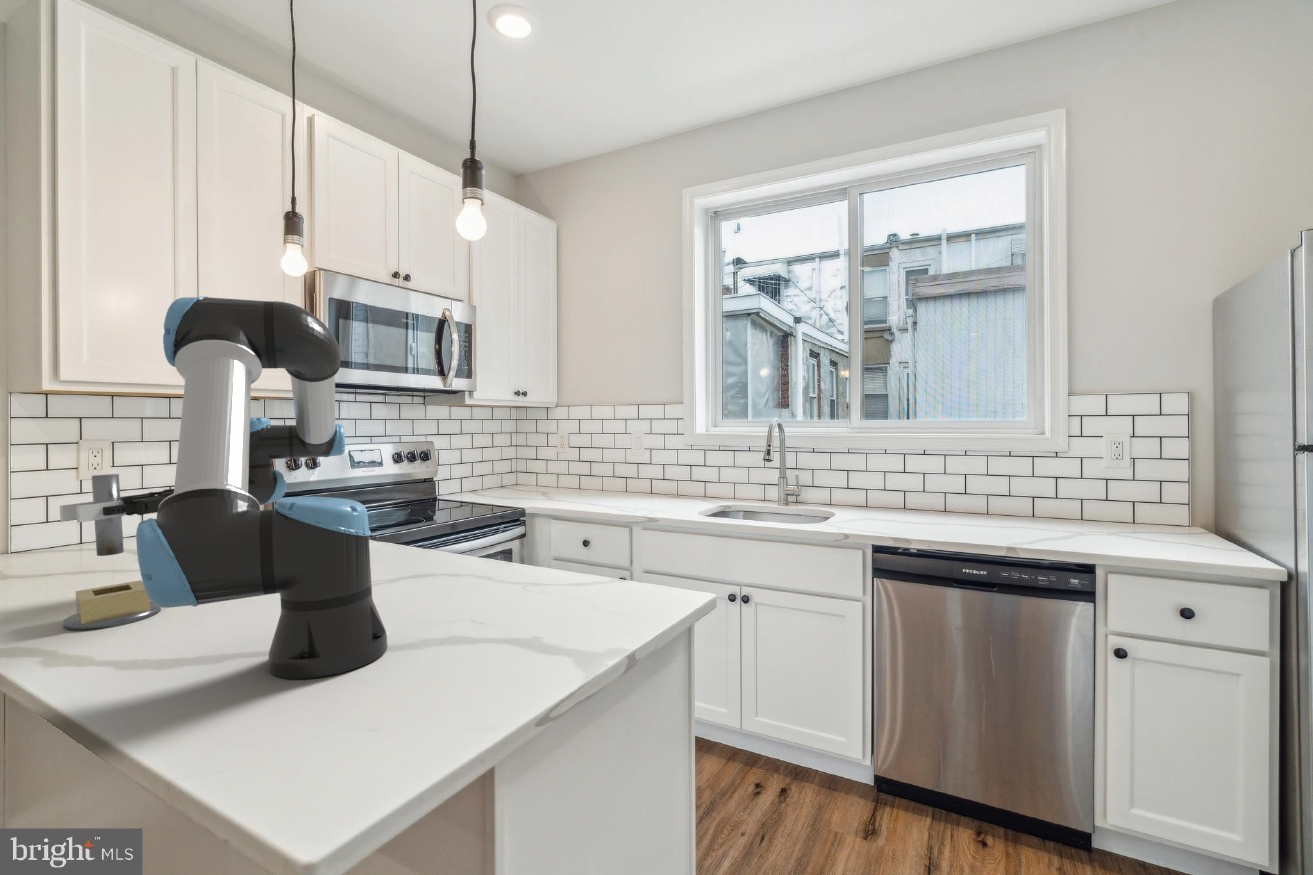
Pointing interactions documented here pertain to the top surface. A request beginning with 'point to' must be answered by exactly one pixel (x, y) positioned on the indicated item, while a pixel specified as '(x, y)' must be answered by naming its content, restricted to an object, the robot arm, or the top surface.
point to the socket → (110, 607)
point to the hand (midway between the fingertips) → (70, 513)
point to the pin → (109, 528)
